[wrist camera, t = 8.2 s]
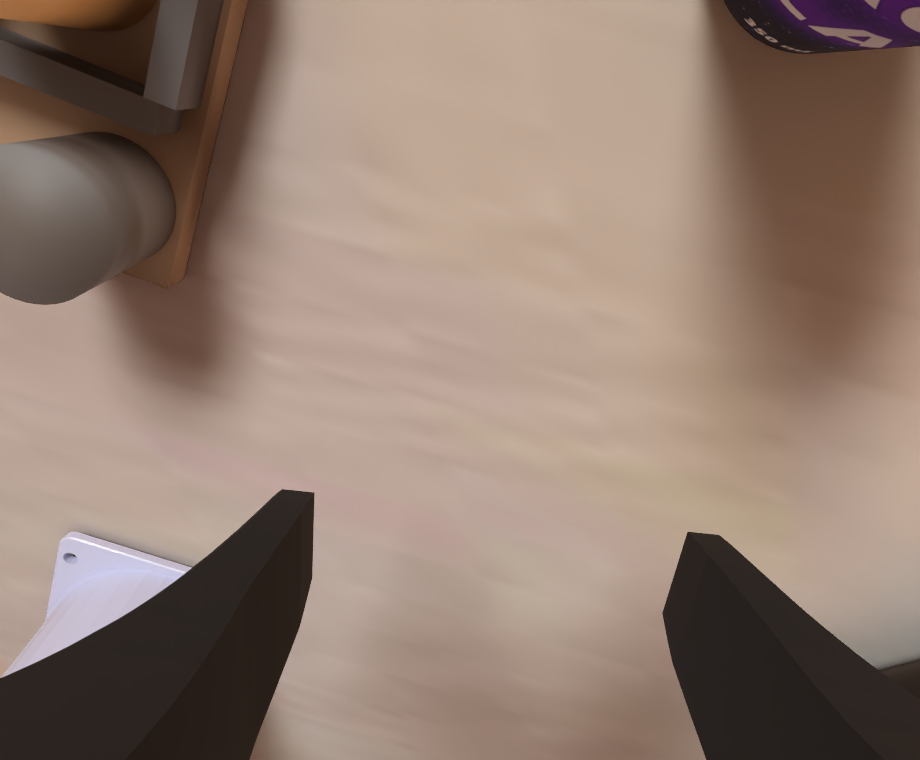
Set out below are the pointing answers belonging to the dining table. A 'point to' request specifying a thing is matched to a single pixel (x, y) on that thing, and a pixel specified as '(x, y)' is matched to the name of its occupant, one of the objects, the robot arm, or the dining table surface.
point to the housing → (108, 145)
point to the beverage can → (829, 24)
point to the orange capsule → (78, 12)
